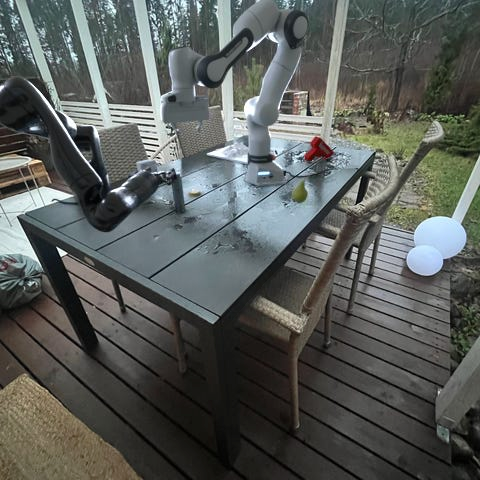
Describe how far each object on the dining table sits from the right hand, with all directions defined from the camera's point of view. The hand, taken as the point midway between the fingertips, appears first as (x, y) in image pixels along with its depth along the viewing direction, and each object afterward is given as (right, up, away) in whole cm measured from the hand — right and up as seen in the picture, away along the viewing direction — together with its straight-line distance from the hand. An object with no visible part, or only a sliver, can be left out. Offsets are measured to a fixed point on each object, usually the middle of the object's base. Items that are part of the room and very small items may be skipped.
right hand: (188, 133), depth 115 cm
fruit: (+49, -28, +7) cm, 57 cm away
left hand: (-5, -21, -21) cm, 30 cm away
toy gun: (+72, +5, +59) cm, 94 cm away
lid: (0, -22, +14) cm, 27 cm away
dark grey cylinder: (-3, -33, 0) cm, 34 cm away
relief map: (+21, +13, +72) cm, 76 cm away
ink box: (-25, -16, +27) cm, 40 cm away
